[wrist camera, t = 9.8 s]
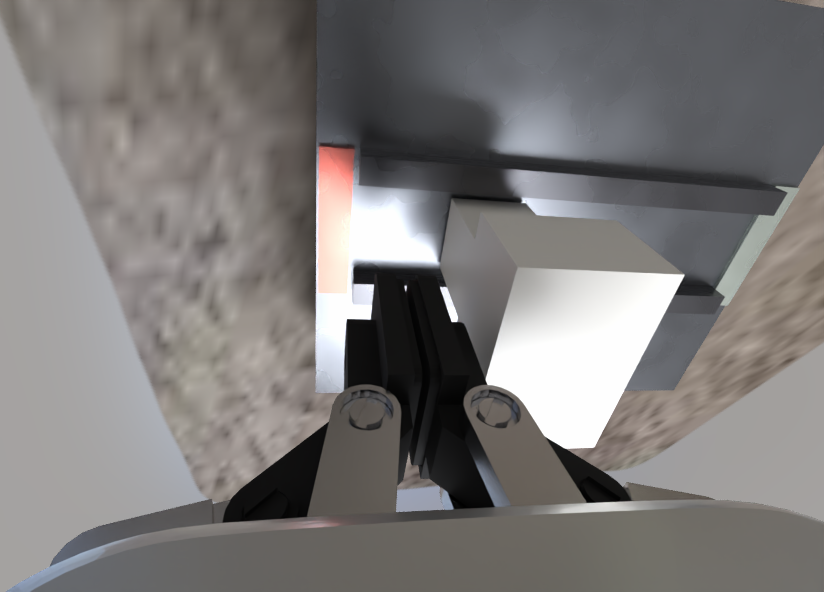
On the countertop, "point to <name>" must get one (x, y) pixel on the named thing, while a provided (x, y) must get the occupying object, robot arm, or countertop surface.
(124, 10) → the countertop surface
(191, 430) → the countertop surface
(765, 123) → the slider base
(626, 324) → the handle
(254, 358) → the countertop surface
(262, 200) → the countertop surface
